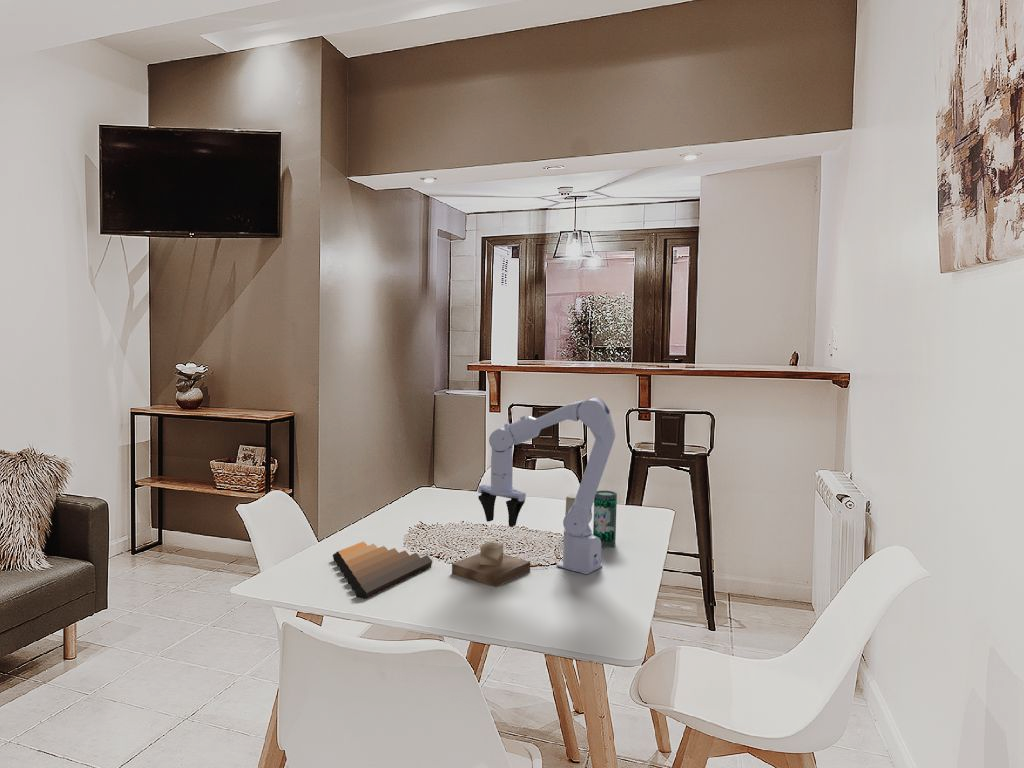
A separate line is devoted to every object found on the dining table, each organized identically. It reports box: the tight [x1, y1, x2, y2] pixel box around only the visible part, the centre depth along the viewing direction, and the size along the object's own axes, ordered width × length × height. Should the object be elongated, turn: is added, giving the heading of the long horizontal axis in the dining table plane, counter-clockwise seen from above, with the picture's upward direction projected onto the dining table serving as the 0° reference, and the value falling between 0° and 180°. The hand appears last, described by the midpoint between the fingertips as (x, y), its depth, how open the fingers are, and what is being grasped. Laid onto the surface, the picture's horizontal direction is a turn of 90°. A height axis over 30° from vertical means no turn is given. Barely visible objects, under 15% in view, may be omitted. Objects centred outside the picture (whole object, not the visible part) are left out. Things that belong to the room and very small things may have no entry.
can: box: [592, 490, 618, 548], centre depth 192 cm, size 6×6×15 cm
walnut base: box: [451, 553, 531, 588], centre depth 168 cm, size 14×14×2 cm
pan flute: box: [332, 541, 433, 600], centre depth 166 cm, size 25×3×25 cm
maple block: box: [480, 541, 504, 566], centre depth 168 cm, size 4×4×4 cm
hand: (500, 523), depth 178 cm, fingers open, 7 cm apart
